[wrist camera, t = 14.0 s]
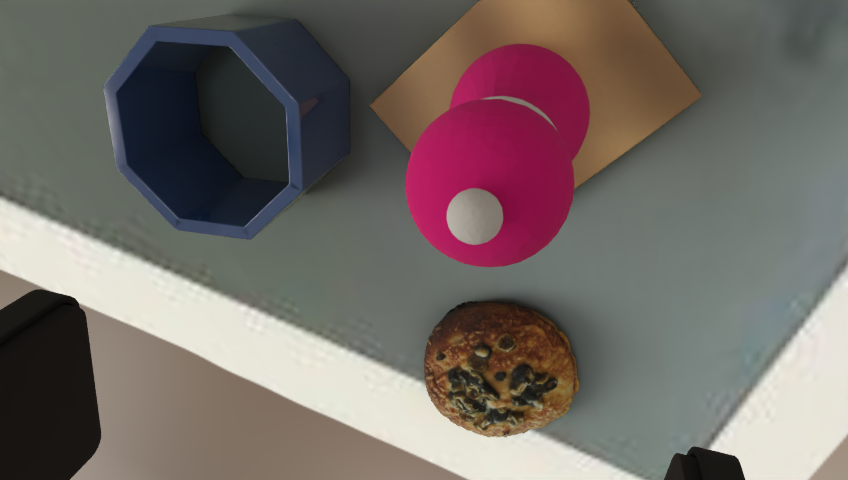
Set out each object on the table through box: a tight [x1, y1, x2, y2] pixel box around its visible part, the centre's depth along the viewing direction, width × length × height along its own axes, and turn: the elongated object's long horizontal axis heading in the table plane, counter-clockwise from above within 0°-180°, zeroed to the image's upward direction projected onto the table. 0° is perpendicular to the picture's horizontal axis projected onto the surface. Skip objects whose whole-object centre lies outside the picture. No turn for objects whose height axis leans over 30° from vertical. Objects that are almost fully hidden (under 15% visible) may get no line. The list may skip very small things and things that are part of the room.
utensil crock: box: [103, 15, 350, 240], centre depth 39 cm, size 12×12×8 cm
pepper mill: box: [406, 44, 590, 267], centre depth 28 cm, size 7×7×20 cm
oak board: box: [370, 0, 702, 189], centre depth 38 cm, size 15×12×1 cm
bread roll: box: [424, 301, 579, 437], centre depth 44 cm, size 11×11×5 cm
